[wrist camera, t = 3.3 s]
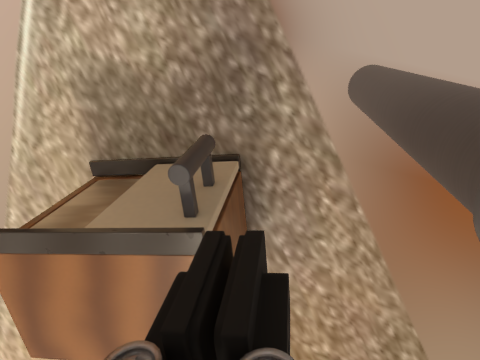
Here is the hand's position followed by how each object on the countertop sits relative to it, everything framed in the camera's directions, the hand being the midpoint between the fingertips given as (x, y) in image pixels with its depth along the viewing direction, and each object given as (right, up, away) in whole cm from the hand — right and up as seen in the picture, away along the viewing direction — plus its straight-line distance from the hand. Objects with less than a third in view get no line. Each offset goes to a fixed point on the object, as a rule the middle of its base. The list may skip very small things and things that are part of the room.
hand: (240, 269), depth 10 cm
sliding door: (-4, +6, +20) cm, 22 cm away
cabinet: (-7, -1, +25) cm, 26 cm away
